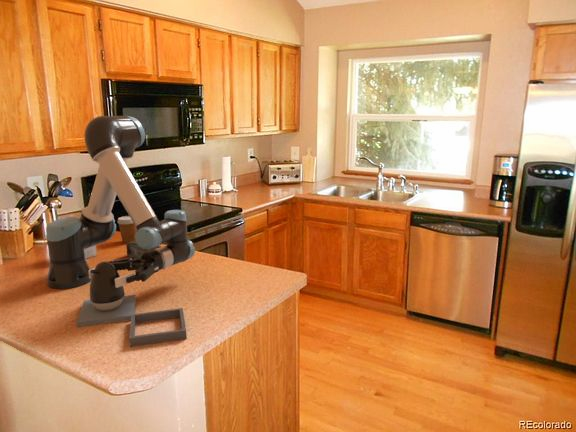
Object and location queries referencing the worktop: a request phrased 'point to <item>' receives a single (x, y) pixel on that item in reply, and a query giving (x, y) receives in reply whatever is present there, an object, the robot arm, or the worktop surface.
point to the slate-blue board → (106, 312)
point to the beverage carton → (136, 250)
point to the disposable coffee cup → (127, 229)
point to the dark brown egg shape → (105, 287)
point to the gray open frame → (161, 335)
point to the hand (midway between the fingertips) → (102, 278)
